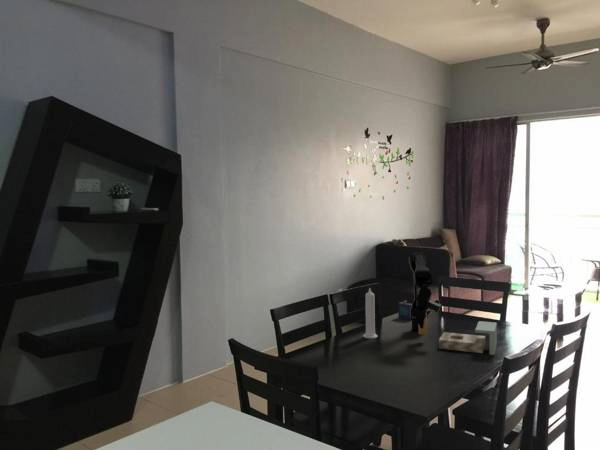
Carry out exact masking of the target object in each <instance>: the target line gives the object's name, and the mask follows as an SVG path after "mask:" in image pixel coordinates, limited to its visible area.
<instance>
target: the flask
mask: <svg viewBox="0 0 600 450" xmlns="http://www.w3.org/2000/svg"><path fill="white" fill-rule="evenodd" d="M407 302H408V300H403V301H401V302H398V318H399V319H401V320H408V321H412V320H411V319H410V308H412V307H411V305H412V303H407Z"/></svg>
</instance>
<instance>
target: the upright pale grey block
mask: <svg viewBox="0 0 600 450" xmlns="http://www.w3.org/2000/svg"><path fill="white" fill-rule="evenodd" d="M497 328H498V323H497V322H495V321H494V322H492V321H483V320H481V321H480V320H479V321H478V322H477V325H476V327H475V329H474V332H475V333H480V334H489V355H491V356H495V355H496V350H497V346H498V344H497V343H498V341H497V339H498V335H497V333H498V332H497V331H498V329H497Z"/></svg>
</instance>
